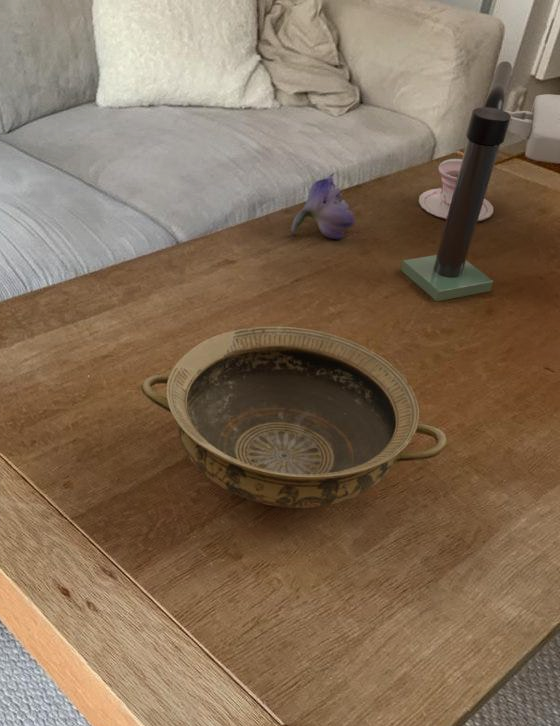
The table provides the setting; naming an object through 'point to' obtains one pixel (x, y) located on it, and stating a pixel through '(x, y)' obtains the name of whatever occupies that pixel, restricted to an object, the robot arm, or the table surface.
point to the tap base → (458, 233)
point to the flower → (326, 210)
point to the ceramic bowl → (291, 415)
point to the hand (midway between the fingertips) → (498, 119)
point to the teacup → (448, 192)
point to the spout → (492, 111)
